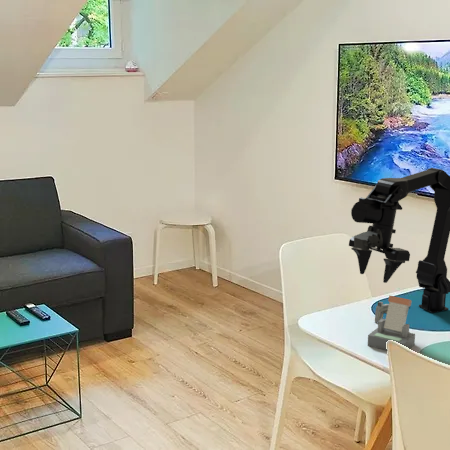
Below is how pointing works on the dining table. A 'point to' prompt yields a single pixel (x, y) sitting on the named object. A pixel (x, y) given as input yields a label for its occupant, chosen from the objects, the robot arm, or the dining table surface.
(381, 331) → the breaker housing
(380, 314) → the caliper
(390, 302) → the toggle lever
